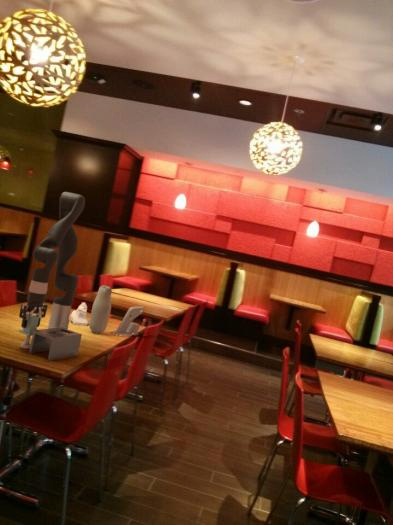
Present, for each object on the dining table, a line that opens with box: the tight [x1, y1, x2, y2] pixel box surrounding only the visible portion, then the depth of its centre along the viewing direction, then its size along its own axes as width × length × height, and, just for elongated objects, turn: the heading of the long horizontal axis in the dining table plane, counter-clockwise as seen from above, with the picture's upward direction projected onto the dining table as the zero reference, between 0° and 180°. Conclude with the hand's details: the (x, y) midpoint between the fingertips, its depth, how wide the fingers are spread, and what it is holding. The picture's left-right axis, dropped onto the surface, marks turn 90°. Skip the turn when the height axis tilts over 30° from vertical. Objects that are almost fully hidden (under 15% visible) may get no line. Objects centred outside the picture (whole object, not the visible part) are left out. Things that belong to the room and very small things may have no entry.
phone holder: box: [111, 305, 145, 337], centre depth 271 cm, size 17×10×18 cm, turn 157°
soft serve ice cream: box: [69, 302, 90, 327], centre depth 271 cm, size 12×15×14 cm
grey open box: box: [28, 327, 83, 362], centre depth 197 cm, size 18×12×10 cm, turn 156°
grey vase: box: [88, 284, 112, 334], centre depth 256 cm, size 10×10×28 cm
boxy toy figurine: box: [18, 314, 39, 350], centre depth 198 cm, size 6×6×14 cm
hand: (30, 327), depth 198 cm, fingers open, 7 cm apart
